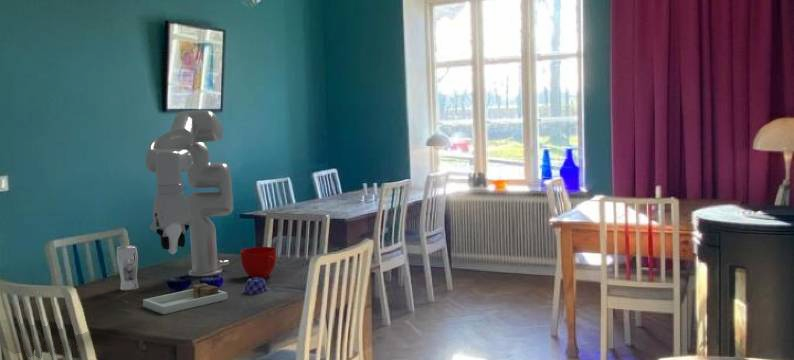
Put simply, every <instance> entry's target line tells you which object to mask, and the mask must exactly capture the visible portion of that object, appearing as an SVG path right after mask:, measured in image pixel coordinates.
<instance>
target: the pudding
mask: <svg viewBox="0 0 794 360" xmlns="http://www.w3.org/2000/svg"><path fill="white" fill-rule="evenodd" d="M268 289H270V290H272V288H270V287H267V284H266V281H265V278H260V277H258V278H251V277H250V278H248V279H247V280H246V282H245V287H244V293H246V294H248V295H257V294H264V293H265V292H268Z"/></svg>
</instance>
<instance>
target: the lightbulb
mask: <svg viewBox="0 0 794 360" xmlns="http://www.w3.org/2000/svg"><path fill="white" fill-rule="evenodd" d="M162 231H163V228H162ZM165 232H166V234H167V235H166V237H168V239H169V249H167V250H168V253H169V254H171V255H175V254H176V253H177V251H178V239H179V236H180V234H181V232H182V227H181V225H180V224H178V223H173V224H171V225H170V226H168V227H166V229H165Z"/></svg>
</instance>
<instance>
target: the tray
mask: <svg viewBox="0 0 794 360" xmlns="http://www.w3.org/2000/svg"><path fill="white" fill-rule="evenodd" d="M228 297H229V296H228V292H226V291H223V290H220V289H218V294H215V295H210V296H206V297H201V298H195V297H194V294H193V288H191V289H187V290H181V291H176V292H173V293H168V294H163V295H158V296H154V297H149V298H145V299H144V298H143V299H142V305H143V308H145V309H149V310H151V311H153V312H156V313H159V314H162V315H167V314H171V313H175V312H179V311H184V310H189V309H192V308H197V307H201V306H206V305H209V304H215V303H219V302H223V301H227V300H228Z"/></svg>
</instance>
